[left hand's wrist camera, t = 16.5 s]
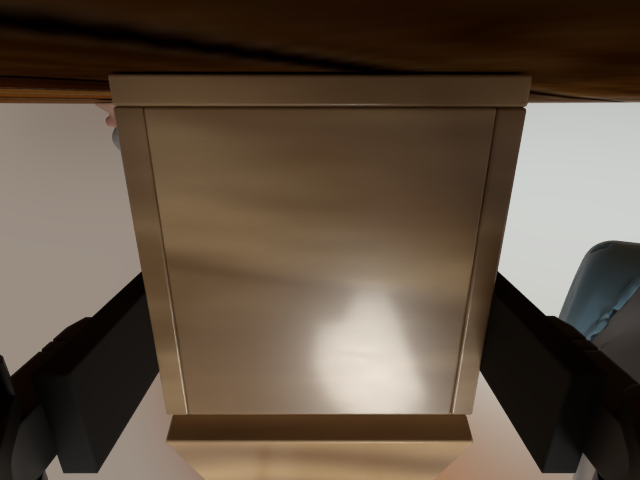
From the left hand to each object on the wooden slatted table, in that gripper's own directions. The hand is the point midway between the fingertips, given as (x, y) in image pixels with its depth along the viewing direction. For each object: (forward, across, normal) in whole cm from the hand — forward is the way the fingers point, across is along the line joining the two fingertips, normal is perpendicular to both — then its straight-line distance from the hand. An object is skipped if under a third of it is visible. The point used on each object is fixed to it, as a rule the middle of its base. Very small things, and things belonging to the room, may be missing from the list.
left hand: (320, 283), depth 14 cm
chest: (+5, 0, -7) cm, 8 cm away
